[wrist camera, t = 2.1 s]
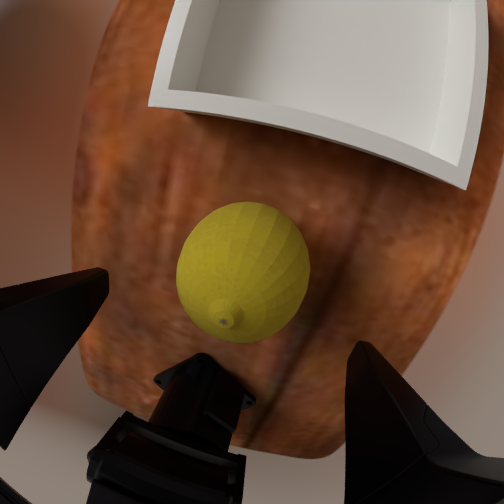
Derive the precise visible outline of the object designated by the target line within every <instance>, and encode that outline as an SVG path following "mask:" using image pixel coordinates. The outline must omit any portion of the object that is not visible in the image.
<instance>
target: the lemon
mask: <svg viewBox="0 0 504 504" xmlns="http://www.w3.org/2000/svg"><path fill="white" fill-rule="evenodd" d="M309 275H310V261H309V253H308V248H307V245H306V243H305V241H304V238H303V236H302V234H301V232H300V230H299V229H298V228H297V227H296V225H295V224H294V223H293V222H292V220H291V219H290V218H289V217H287V216H286V215H285V214H283V213H282V212H281V211H279V210H278V209H276V208H273V207H271V206H268V205H266V204H263V203H256V202H239V203H231V204H229V205H226V206H224V207H221V208H219V209H216V210H215V211H213V212H212V213H210V214H209V215H208V216H207V217H205V218H204V219H203V220H201V221H200V222H199V223H198V224H197V226H196V227H195V228H194V230H193V231H192V232H191V234H190V235H189V236H188V238H187V239H186V241H185V244H184V246H183V249H182V252H181V254H180V257H179V260H178V264H177V277H176V285H177V290H178V295H179V299H180V301H181V304H182V306H183V308H184V310H185V312H186V313H187V315H188V316H189V317H190V318H191V320H192V321H193V322H194V323H195V324H196V325H197V326H198V327H199V328H201V329H202V330H203V331H204V332H206V333H207V334H209V335H211V336H213V337H215V338H217V339H221V340H224V341H227V342H235V343H247V342H255V341H258V340H261V339H264V338H267V337H269V336H271V335H273V334H274V333H276V332H278V331H279V330H281V329H282V328H283V327H284V326H285V325H286V324H287V323H288V322H289V321H290V320H291V319H292V317H293V316H294V315H295V314H296V312H297V311H298V309H299V307H300V305H301V302H302V300H303V298H304V296H305V294H306V291H307V287H308V282H309Z"/></svg>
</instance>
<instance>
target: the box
mask: <svg viewBox="0 0 504 504" xmlns="http://www.w3.org/2000/svg"><path fill="white" fill-rule="evenodd" d="M487 72H488V13H487V1H486V0H176V1H175V4H174V6H173V10H172V13H171V16H170V19H169V22H168V25H167V29H166V32H165V36H164V39H163V43H162V46H161V50H160V54H159V58H158V62H157V66H156V70H155V75H154V79H153V83H152V88H151V93H150V98H149V103H148V106H150V107H156V108H163V109H169V110H175V111H180V112H187V113H195V114H202V115H209V116H216V117H222V118H228V119H234V120H240V121H245V122H251V123H256V124H261V125H265V126H270V127H275V128H279V129H284V130H288V131H292V132H296V133H300V134H304V135H308V136H312V137H315V138H319V139H323V140H326V141H330V142H333V143H337V144H340V145H343V146H347V147H350V148H353V149H356V150H359V151H362V152H365V153H368V154H371V155H374V156H377V157H380V158H383V159H386V160H388V161H391V162H394V163H396V164H399V165H402V166H404V167H407V168H409V169H412V170H414V171H417V172H419V173H422V174H424V175H427V176H429V177H431V178H434V179H437V180H440V181H442V182H445V183H448V184H450V185H453V186H456V187H458V188H461V189H463V190H466V189H467V185H468V182H469V178H470V174H471V170H472V166H473V162H474V158H475V154H476V149H477V144H478V139H479V134H480V129H481V123H482V117H483V110H484V103H485V94H486V84H487Z"/></svg>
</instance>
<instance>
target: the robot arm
mask: <svg viewBox="0 0 504 504" xmlns="http://www.w3.org/2000/svg"><path fill="white" fill-rule="evenodd" d="M108 294H109V274H108V271H107V270H105V269H102V268H99V267H96V268H92V269H87V270H82V271H78V272H73V273H68V274H63V275H59V276H54V277H50V278H46V279H41V280H36V281H32V282H27V283H23V284H19V285H13V286H9V287H4V288H0V447H1V448H2V449H3V450H6V449H7V447H8V446H9V444H10V442H11V440H12V439H13V437H14V435H15V433H16V431H17V430H18V428H19V427H20V425H21V423H22V422H23V420H24V418H25V417H26V415H27V414H28V412H29V411H30V407H32V406H33V404H34V402H35V401H36V399H37V398H38V396H39V395H40V393H41V392H42V390H43V388H44V387H45V386H46V384H47V383H48V381H49V380H50V378H51V377H52V375H53V374H54V373H55V371H56V370H57V368H58V367H59V365H60V364H61V363H62V361H63V360H64V359H65V357H66V355H67V354H68V353H69V352H70V350H71V349H72V348H73V346H74V345H75V344H76V342H77V341H78V339H79V338H80V337H81V336H82V334H83V333H84V332H85V330H86V329H87V328H88V326H89V325H90V323H91V322H92V320H93V318H94V317H95V315H96V314H97V312H98V310H99V309H100V307H101V306H102V304H103V302H104V301H105V299H106V298H107V296H108ZM201 359H202V360H201ZM153 381H154V382H155V383H156V384H157V385H158V386H159V387H160V388H161V389H163V390H164V392H163V394H162V396H161V398H160V400H159V402H158V404H157V406H156V407H155V409H154V411H153V413H152V415H151V417H150V419H149V421H148V422H147V421H144V420H142V419H140V418H138V417H136V416H134V415H133V414H132V413H130V412H128V411H125V413H124V414H123V415H122V417H121V418H120V417H119V418H118V419H117V420H116V421H115V423H114V424H113V425H112V427H111V428H110V429H109V430H108V431H107V433H106V434H105V435H104V437H103V438H102V439H101V440H100V442H99V443H98V444H97V445H96V446H95V447H94V448H92V449H91V450H90V451H89V452H88V454H87V459H88V462H89V466H88V469H87V481H89V482H90V483H92V484H91V488H90V492H89V496H88V499H87V503H86V504H242V497H243V487H244V477H245V466H246V456H245V455H241V454H238V455H237V454H233V453H229V452H228V449H229V445H230V441H231V437H232V434H233V433H234V432H235V431H236V427H237V423H238V419H239V415H240V411H241V410H244V409H247V408H249V407H252V406H254V405H255V404H256V398H255V397H254V396H252V395H251V394H250V393H249V392H248V391H246V390H245V389H244V388H243V387H242V386H240V385H239V384H238V383H237V382H236V381H235V380H234V379H232V378H231V377H230V376H229V375H228V374H227V373H226V372H225V371H223V370H222V369H221V368H220V367H219V366H218V365H217V364H216V363H215V362H214V361H212V360H211V359H210V358H209V357H208V356H207V355H206V354H204V353H198V354H196V355H194V356H192V357H190V358H188V359H186V360H184V361H182V362H181V363H179V364H177V365H175V366H173V367H171V368H169V369H167V370H165V371H163V372H161V373H159V374H157V375H156V376H155V377H154V379H153ZM345 439H346V464H345V465H346V466H345V470H346V471H345V498H344V504H504V458H495V457H486V456H483V455H480V454H478V453H477V452H475V451H474V450H473V449H471V448H470V447H469V446H468V445H467V444H466V443H465V442H464V441H463V440H462V439H461V438H460V437H458V435H457V434H456V433H454V432H453V431H452V430H451V429H450V428H449V427H448V426H447V425H446V424H445V423H444V422H443V421H442V420H441V419H440V418H439V417H438V416H437V415H436V413H435V412H434V411H433V410H432V409H431V408H430V407H429V406H428V405H427V404H426V402H425V401H424V400H423V399H422V398H421V397H420V396H419V395H418V394H417V393H416V392H415V390H414V389H413V388H412V387H411V386H410V385H409V384H408V383H407V382H406V381H405V379H404V378H403V377H402V376H401V375H400V374H399V373H398V372H397V371H396V370H395V369H394V368H393V367H392V365H391V364H390V363H389V362H388V361H387V360H386V359H385V358H384V357H383V356H382V355H381V354H380V353H379V352H378V350H377V349H376V348H375V347H374V346H373V345H372V344H371V343H370V342H366V341H358V342H357V343H356V345H355V347H354V349H353V351H352V352H351V354H350V356H349V358H348V361H347V372H346V387H345ZM0 504H32V503H31V502H29V501H28V500H27V499H25V498H24V497H23V496H22V495H20V494H19V493H18V492H17V491H16V490H14V489H13V488H12V487H11V486H10V485H8V484H7V483H6V482H5V481H4V480H3V479H2V478H1V477H0Z"/></svg>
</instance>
